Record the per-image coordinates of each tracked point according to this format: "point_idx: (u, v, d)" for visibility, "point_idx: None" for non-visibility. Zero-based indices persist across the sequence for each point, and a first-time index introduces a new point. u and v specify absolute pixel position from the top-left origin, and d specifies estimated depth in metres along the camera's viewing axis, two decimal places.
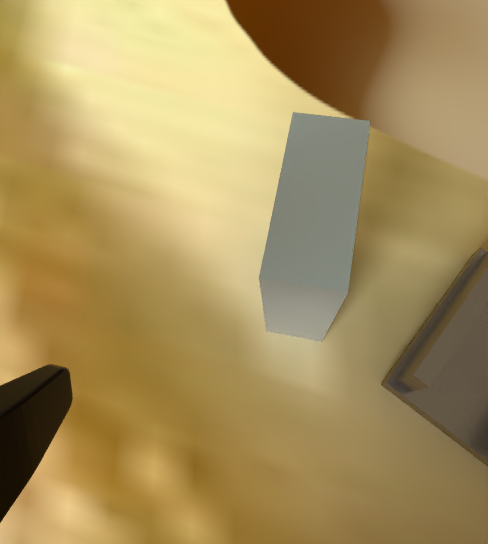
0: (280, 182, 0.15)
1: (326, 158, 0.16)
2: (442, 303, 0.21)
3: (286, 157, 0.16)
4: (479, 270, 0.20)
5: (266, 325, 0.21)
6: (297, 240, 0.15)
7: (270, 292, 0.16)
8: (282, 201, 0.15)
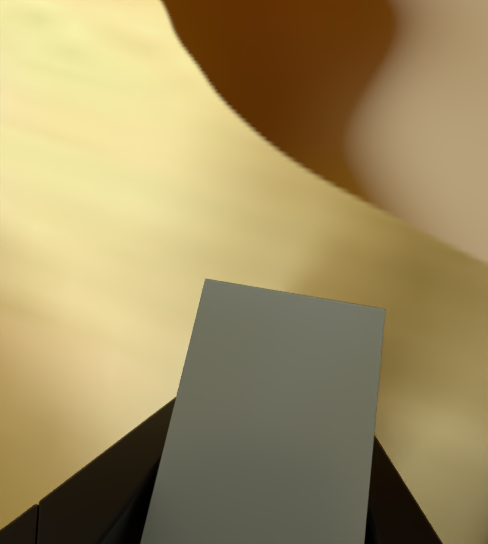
0: (158, 486, 0.06)
1: (277, 414, 0.06)
2: None
3: (180, 406, 0.06)
4: None
5: None
6: None
7: None
8: None
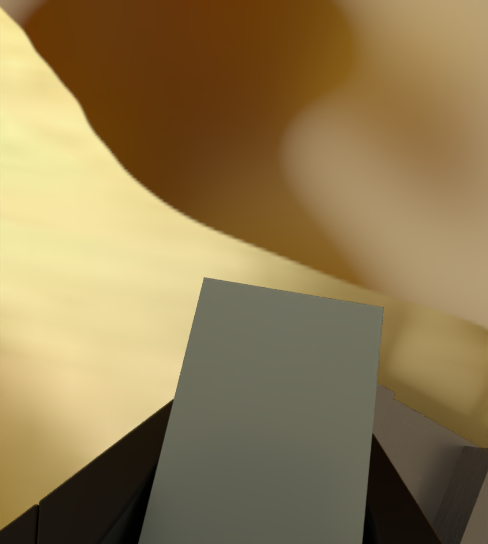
0: (157, 484, 0.06)
1: (275, 412, 0.06)
2: None
3: (179, 404, 0.06)
4: None
5: None
6: None
7: None
8: None
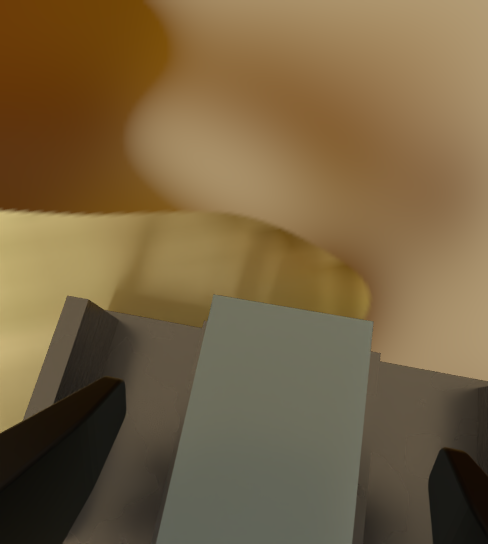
0: (175, 478, 0.07)
1: (277, 415, 0.07)
2: None
3: (193, 408, 0.07)
4: None
5: None
6: None
7: None
8: (175, 531, 0.07)
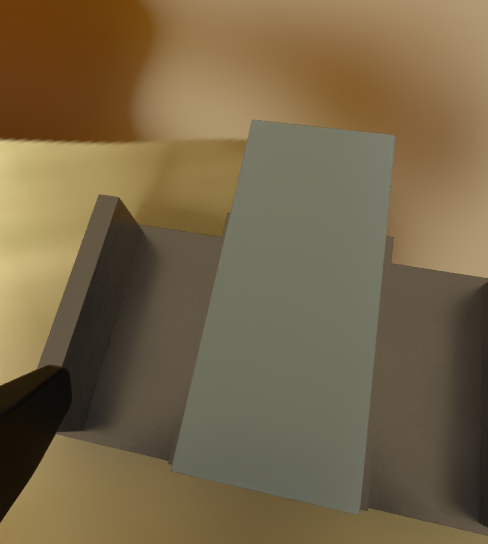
0: (223, 257, 0.08)
1: (312, 208, 0.08)
2: None
3: (237, 206, 0.08)
4: None
5: None
6: (252, 385, 0.07)
7: None
8: (226, 296, 0.08)
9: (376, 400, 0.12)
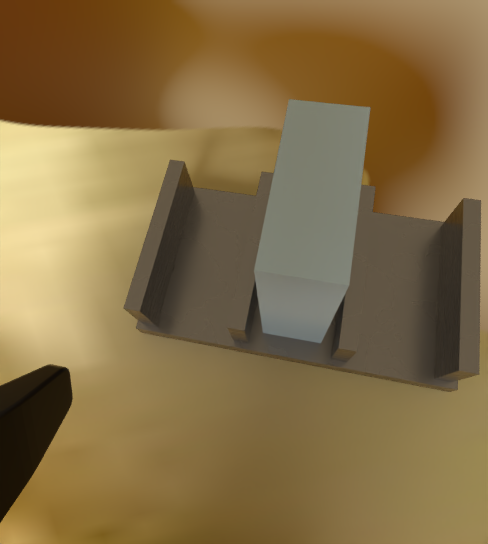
0: (276, 171, 0.15)
1: (324, 145, 0.15)
2: None
3: (282, 145, 0.15)
4: None
5: (262, 326, 0.20)
6: (294, 231, 0.14)
7: (266, 287, 0.15)
8: (278, 190, 0.14)
9: (362, 287, 0.19)
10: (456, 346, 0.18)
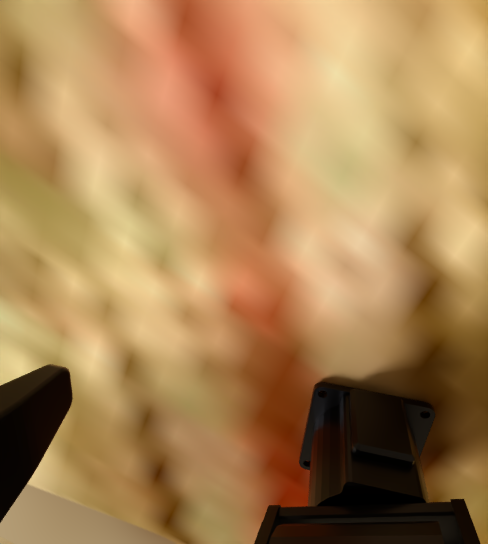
0: None
1: None
2: None
3: None
4: None
5: None
6: None
7: None
8: None
9: None
10: None
